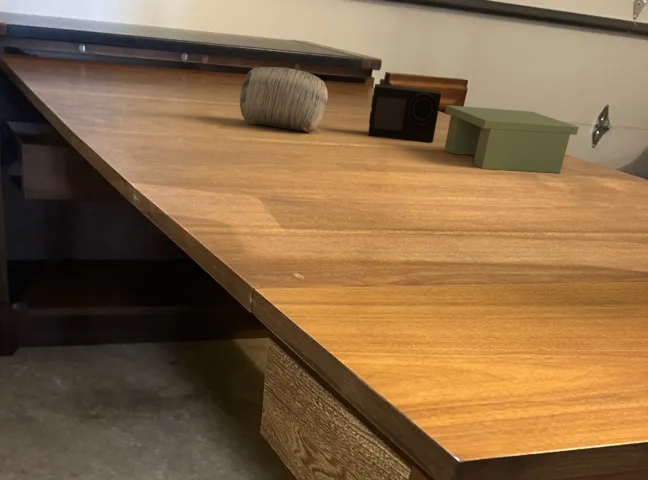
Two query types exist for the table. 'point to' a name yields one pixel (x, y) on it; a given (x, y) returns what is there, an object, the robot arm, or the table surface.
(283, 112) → the grey yarn skein
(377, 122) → the digital camera
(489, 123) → the stand
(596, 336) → the table surface
